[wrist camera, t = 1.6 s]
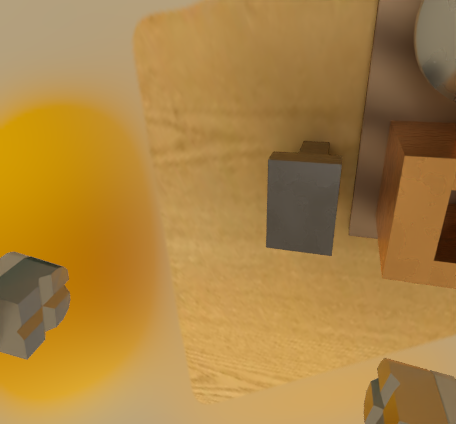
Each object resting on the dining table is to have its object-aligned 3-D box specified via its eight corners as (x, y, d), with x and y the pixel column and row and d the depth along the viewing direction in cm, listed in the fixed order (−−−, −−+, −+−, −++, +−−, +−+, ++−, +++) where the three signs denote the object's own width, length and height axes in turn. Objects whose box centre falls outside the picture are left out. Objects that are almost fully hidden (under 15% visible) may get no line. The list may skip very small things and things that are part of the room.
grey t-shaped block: (291, 124, 37) (268, 159, 27) (345, 126, 35) (341, 164, 25) (288, 192, 40) (266, 247, 30) (337, 197, 38) (331, 255, 28)
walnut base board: (380, -17, 30) (382, -19, 29) (596, -29, 26) (609, -32, 25) (348, 228, 39) (348, 235, 38) (503, 245, 36) (509, 254, 34)
